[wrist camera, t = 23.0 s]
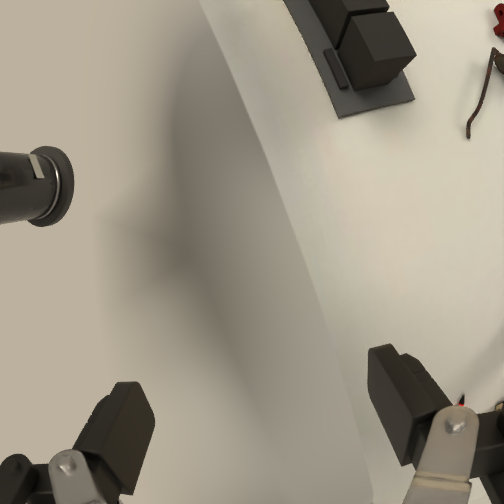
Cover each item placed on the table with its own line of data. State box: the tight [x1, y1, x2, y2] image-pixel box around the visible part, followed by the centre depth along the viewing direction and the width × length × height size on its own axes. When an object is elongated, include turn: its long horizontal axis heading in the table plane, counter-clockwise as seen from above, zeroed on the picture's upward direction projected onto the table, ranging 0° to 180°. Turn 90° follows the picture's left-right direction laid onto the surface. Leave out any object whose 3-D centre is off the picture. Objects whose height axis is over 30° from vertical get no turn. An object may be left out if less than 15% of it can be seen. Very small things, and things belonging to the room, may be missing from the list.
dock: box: [283, 0, 415, 118], centre depth 24 cm, size 10×20×10 cm, turn 19°
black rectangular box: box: [337, 12, 417, 91], centre depth 25 cm, size 4×5×9 cm
